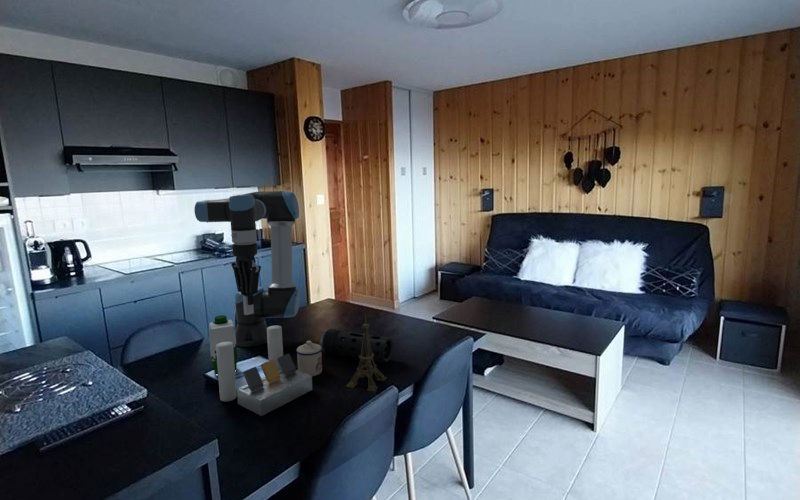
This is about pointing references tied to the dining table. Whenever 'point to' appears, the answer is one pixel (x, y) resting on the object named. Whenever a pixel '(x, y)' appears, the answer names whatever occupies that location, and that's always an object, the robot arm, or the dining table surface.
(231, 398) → the post near
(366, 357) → the eiffel tower
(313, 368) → the teacup with lid
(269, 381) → the block
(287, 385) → the block
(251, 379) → the paddle left
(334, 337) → the muzzle brake
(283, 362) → the paddle right
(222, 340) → the milk carton
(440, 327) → the dining table surface
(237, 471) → the dining table surface
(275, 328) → the post far
